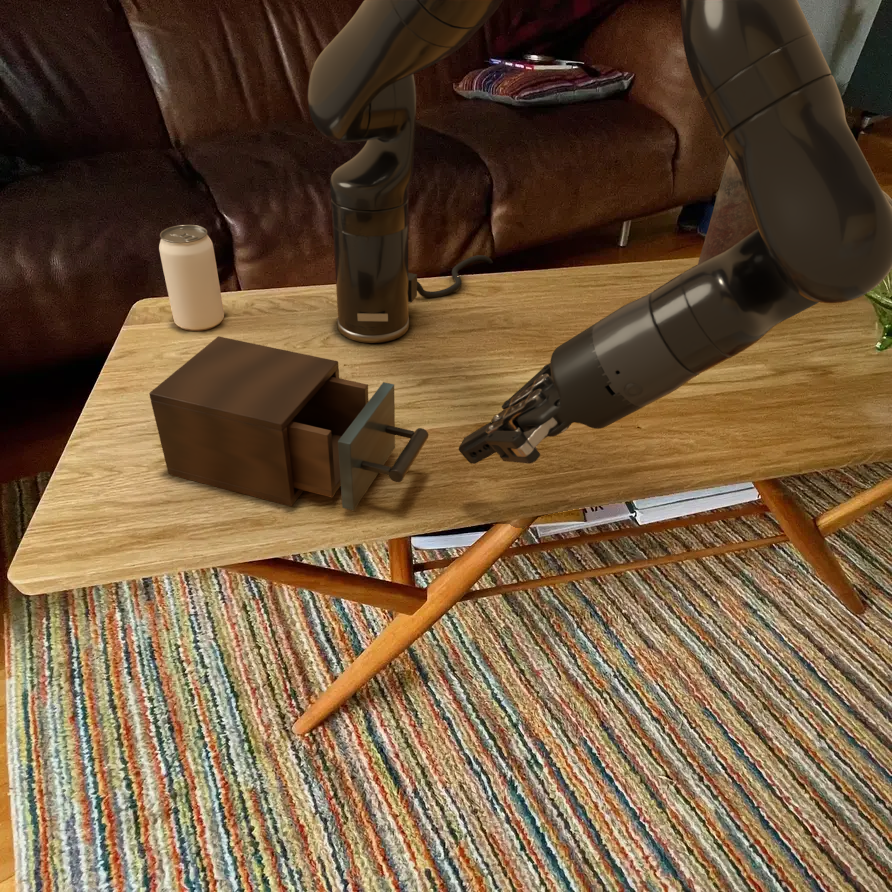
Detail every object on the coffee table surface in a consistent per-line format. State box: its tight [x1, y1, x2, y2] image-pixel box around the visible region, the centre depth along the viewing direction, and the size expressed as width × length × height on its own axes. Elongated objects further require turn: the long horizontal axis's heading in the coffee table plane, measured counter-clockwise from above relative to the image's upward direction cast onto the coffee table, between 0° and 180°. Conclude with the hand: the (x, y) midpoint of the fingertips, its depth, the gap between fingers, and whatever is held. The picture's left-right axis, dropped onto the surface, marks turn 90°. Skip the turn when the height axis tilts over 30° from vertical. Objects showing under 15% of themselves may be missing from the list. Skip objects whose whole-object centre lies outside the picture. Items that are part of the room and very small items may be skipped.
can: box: [158, 224, 225, 332], centre depth 97 cm, size 6×6×12 cm
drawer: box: [287, 377, 429, 512], centre depth 73 cm, size 17×10×8 cm, turn 71°
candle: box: [697, 154, 758, 265], centre depth 107 cm, size 8×7×20 cm
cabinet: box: [148, 336, 340, 507], centre depth 75 cm, size 14×12×10 cm
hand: (466, 452), depth 69 cm, fingers closed
